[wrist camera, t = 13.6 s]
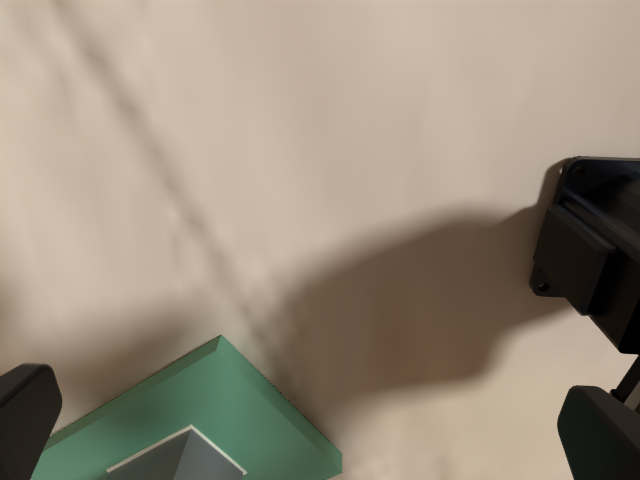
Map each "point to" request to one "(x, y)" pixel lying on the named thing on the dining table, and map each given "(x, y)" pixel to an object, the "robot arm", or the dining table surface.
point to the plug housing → (179, 462)
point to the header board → (196, 423)
